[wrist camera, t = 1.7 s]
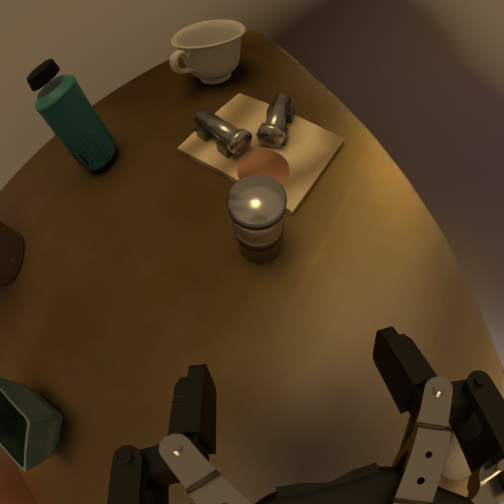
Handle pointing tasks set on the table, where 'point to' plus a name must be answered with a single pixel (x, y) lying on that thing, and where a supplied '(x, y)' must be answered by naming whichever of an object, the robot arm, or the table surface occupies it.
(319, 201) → the table surface
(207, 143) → the base board
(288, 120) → the shaft
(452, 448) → the perfume bottle
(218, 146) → the shaft
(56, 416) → the flower pot
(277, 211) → the disc
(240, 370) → the table surface
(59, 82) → the beverage bottle
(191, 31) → the teacup
